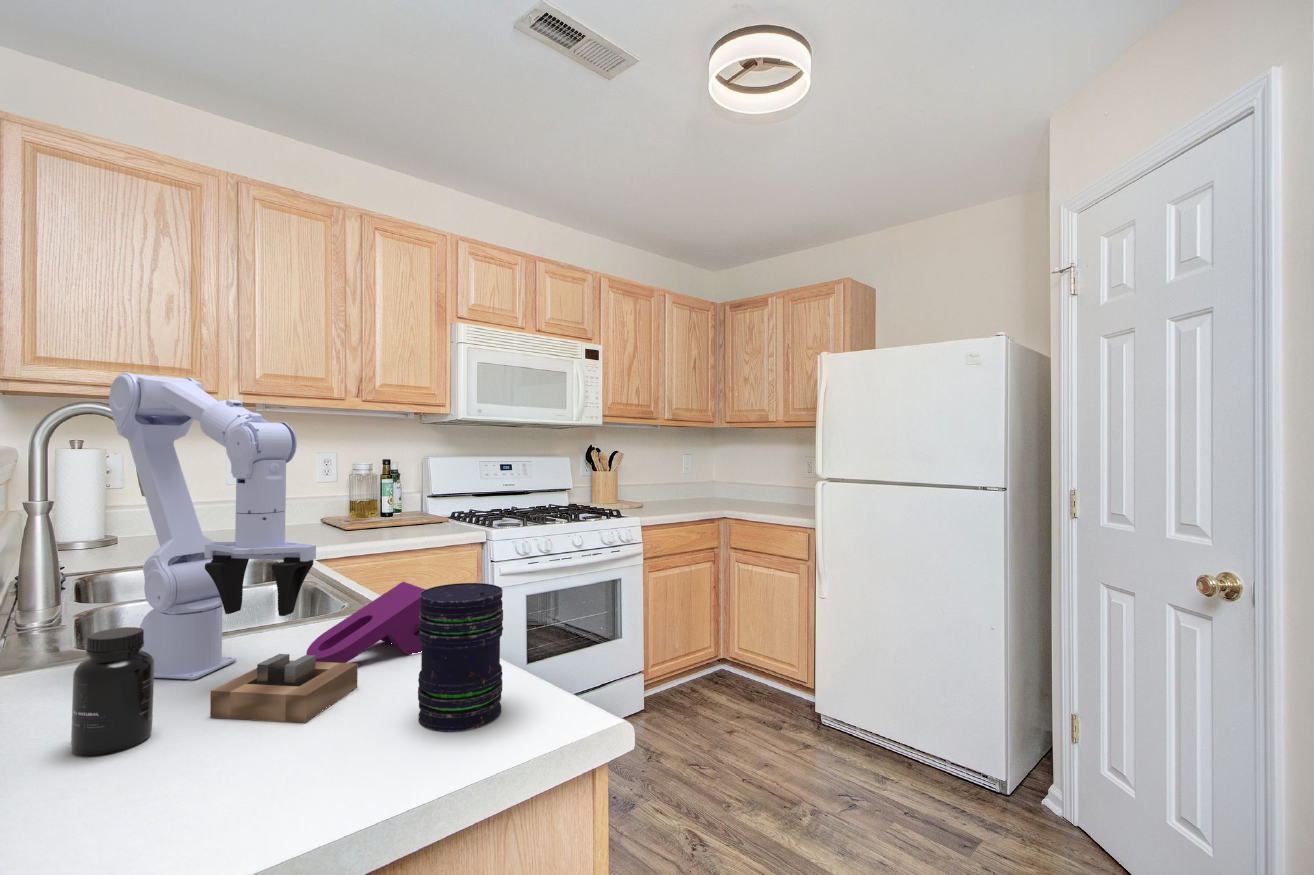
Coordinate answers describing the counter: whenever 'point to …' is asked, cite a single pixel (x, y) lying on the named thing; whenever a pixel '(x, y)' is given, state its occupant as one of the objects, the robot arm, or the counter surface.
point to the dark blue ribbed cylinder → (460, 656)
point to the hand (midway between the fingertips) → (259, 613)
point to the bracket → (286, 670)
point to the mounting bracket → (374, 627)
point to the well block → (283, 695)
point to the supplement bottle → (112, 693)
